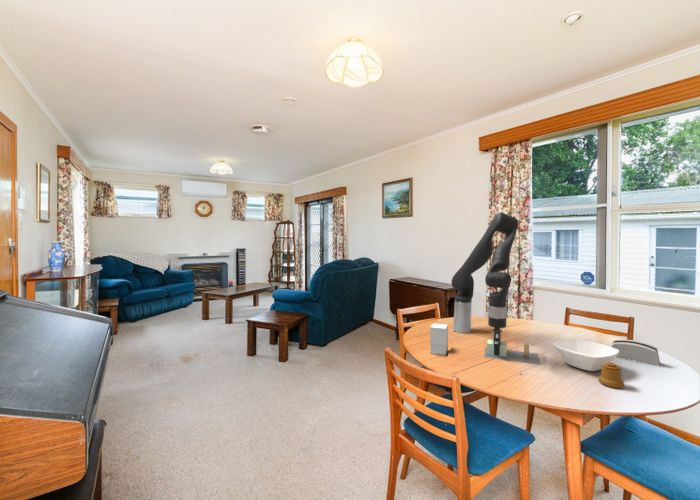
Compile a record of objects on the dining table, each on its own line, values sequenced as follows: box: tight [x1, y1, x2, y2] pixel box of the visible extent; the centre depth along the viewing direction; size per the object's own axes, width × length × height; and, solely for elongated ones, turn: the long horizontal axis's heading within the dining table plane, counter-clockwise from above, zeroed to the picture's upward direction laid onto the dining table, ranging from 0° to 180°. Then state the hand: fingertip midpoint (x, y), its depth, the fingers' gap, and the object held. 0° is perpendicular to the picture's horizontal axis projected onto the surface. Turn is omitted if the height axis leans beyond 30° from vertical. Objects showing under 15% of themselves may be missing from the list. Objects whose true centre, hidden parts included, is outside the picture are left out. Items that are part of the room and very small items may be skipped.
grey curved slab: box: [611, 339, 661, 366], centre depth 149 cm, size 17×5×10 cm, turn 45°
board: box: [483, 342, 542, 366], centre depth 151 cm, size 22×14×8 cm, turn 66°
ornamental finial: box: [598, 362, 625, 390], centre depth 125 cm, size 8×8×8 cm
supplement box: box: [429, 323, 449, 356], centre depth 159 cm, size 7×7×13 cm
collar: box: [486, 339, 508, 357], centre depth 153 cm, size 8×6×5 cm
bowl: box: [552, 338, 619, 372], centre depth 141 cm, size 21×21×9 cm
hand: (496, 352), depth 153 cm, fingers closed on collar, 6 cm apart
